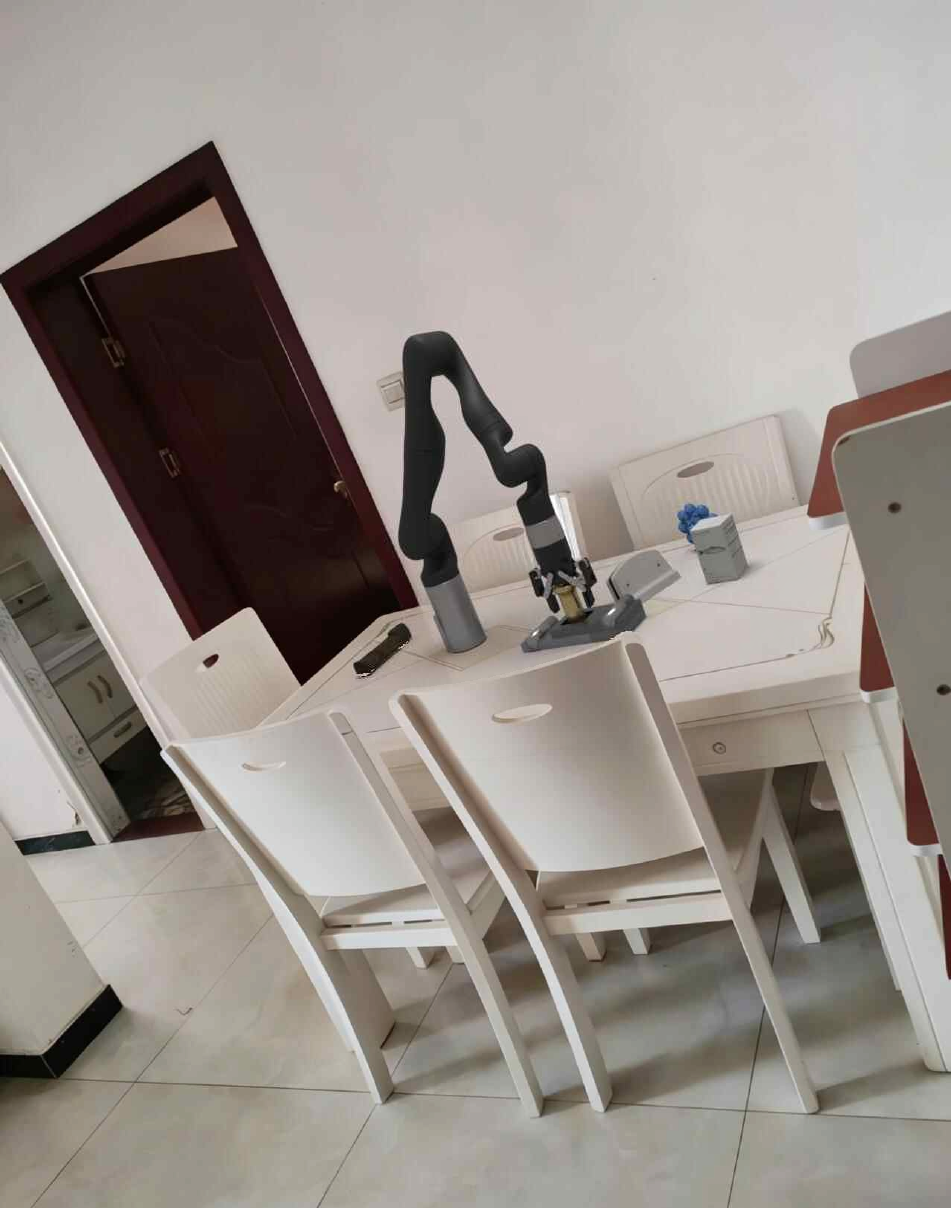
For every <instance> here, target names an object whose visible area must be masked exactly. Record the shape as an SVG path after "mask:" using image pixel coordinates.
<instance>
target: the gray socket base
mask: <svg viewBox="0 0 951 1208" xmlns="http://www.w3.org/2000/svg"><path fill="white" fill-rule="evenodd" d="M583 608H584V607H583ZM584 611H585V614H586V616H587V619H586V620H585V621H584V622H580V623H574V624H569V622H568V619H567V617H566V614H565V615H563V617H562V618H561V619H560V620H559V619H558V617H556V616H555V615H548V617H546V618H545V620H543V621H542V622H541V623H540V624H539V625H538V626H537V627H535V629H534V630H533V631H532V632H531V633H529V635H528V636H527V637H525V639H524V640H523V641H522V642H521V643H520V647H521V649H522V652H523V653H529V652H528V651H530V652H534V650H536V651H540V650H539V649H543V650H549V649H548V648H550V649H555V648H554V647H557V648H563V647H570V646H577V645H582V644H590V643H597V642H605V641H610V640H609V639H610V638H614V637H615V636H616V635H618V634H620V633H621V632H625V631H633V632H634V631H635V629H636V628H637V627H638V626H639V625H640V624H641V623H642V621H644V619H645V618H646V617H647V613H646V611H645V609H644V606H643V603H641V600H640V599H637V600H635V598H634V597H633V596H632V595H631V594H624V595H623V596H622V597H621V598H620V599H619V600H618V601H617V602H616V603H615V602H613V603H609V604H603V605H598V606H592V607H590V608H587V607H585V608H584ZM562 646H563V647H562Z"/></svg>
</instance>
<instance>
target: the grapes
mask: <svg viewBox="0 0 951 1208" xmlns="http://www.w3.org/2000/svg"><path fill="white" fill-rule="evenodd" d="M676 516H677V519H678V520H679V521H680V522H679V523H678V525H677V528H678V530H679V531H680V533H682V534H685V535H686V534H687V535H686V541H687V543H689V544H692V545H694V543H693V540H692V537H691V534H690V530H691V529H692V528H693V527H694V526H695V525H696V524H697V523H698V522H699V521H700V520H702V519H706V518H711V517H717V516H719V514H716V513H715V512H710V509H709V508H708V507H707V506H706V505H705V504H698V505H695V504H693V503H685V505H684V506H683V509H680V510H679V511H677V514H676Z"/></svg>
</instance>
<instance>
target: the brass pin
mask: <svg viewBox="0 0 951 1208" xmlns="http://www.w3.org/2000/svg"><path fill="white" fill-rule="evenodd" d="M553 591H554V592H553V594H555V596H556V595H558V598H559V601H560V603H561V606H562V609H563V612H564V613H565V615H566V617H567V619H568V622H569V624H574V623H580V622H584V621H585V620H586V619H587V616H586V614H585V611H584V607H583V603H582V600H581V598H580V595H579V593H578V590H577V587H576V586H573V585H572V584H570V583H569V584H561V585H559V586H556V585H555V586H554V587H553Z"/></svg>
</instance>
